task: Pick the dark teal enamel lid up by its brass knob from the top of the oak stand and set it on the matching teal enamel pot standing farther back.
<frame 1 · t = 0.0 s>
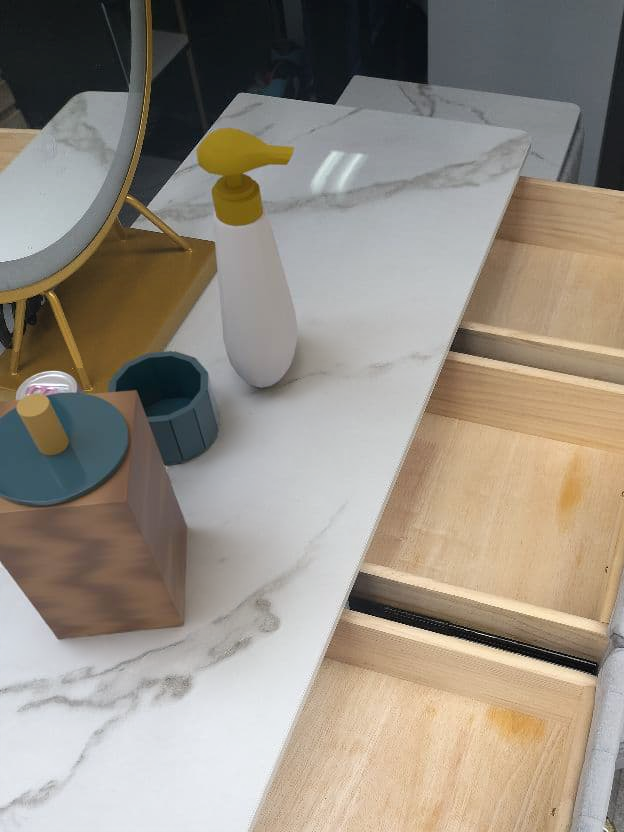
beverage can: (96, 491, 89), on the table
lid: (56, 449, 66), point 20 cm above the table, touching stand
stand: (125, 580, 82), on the table
pot: (173, 429, 94), on the table
soap bottle: (275, 367, 100), on the table
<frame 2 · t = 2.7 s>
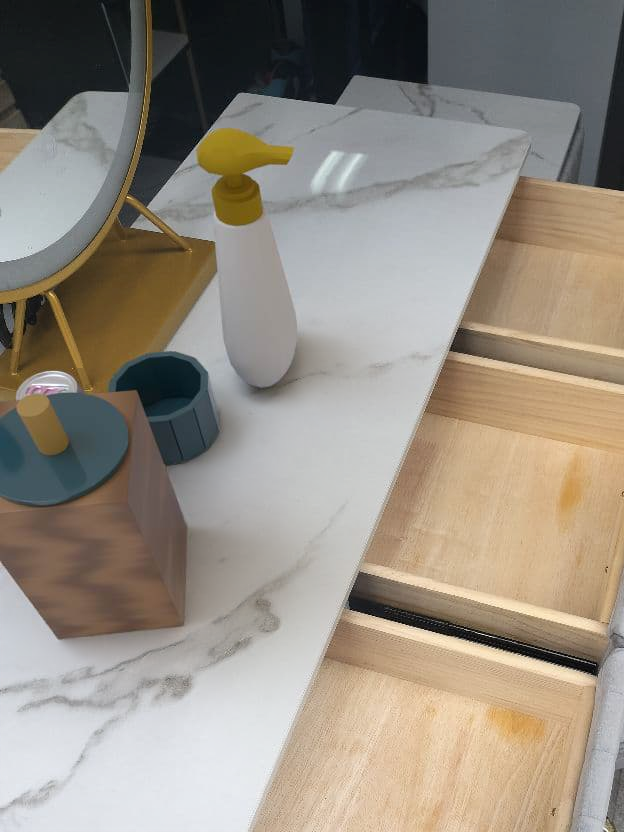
nothing on the table moved.
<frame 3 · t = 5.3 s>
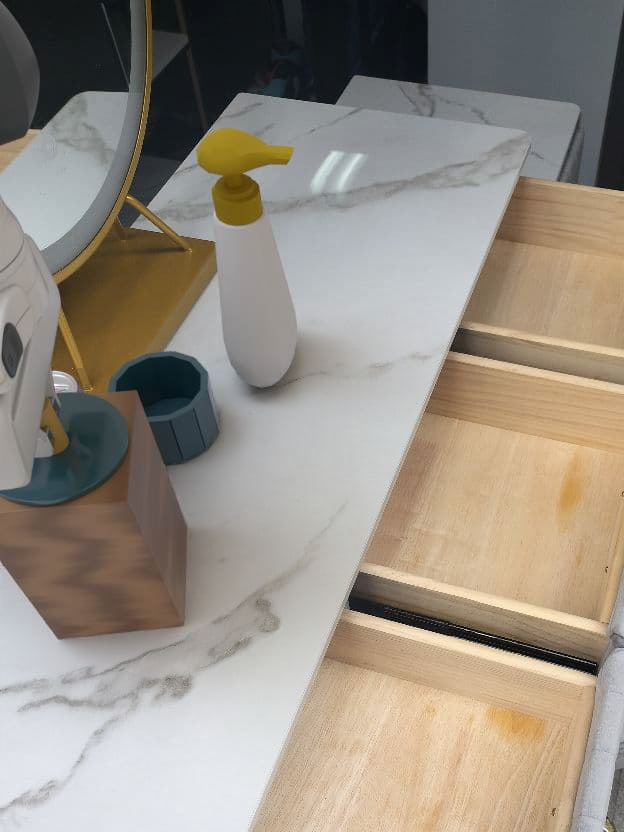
hand: (47, 432, 64), 22 cm above the table, tool pointing down, fingers closed on lid, 2 cm apart
lid: (56, 449, 66), point 20 cm above the table, touching gripper, stand
everything else where it was.
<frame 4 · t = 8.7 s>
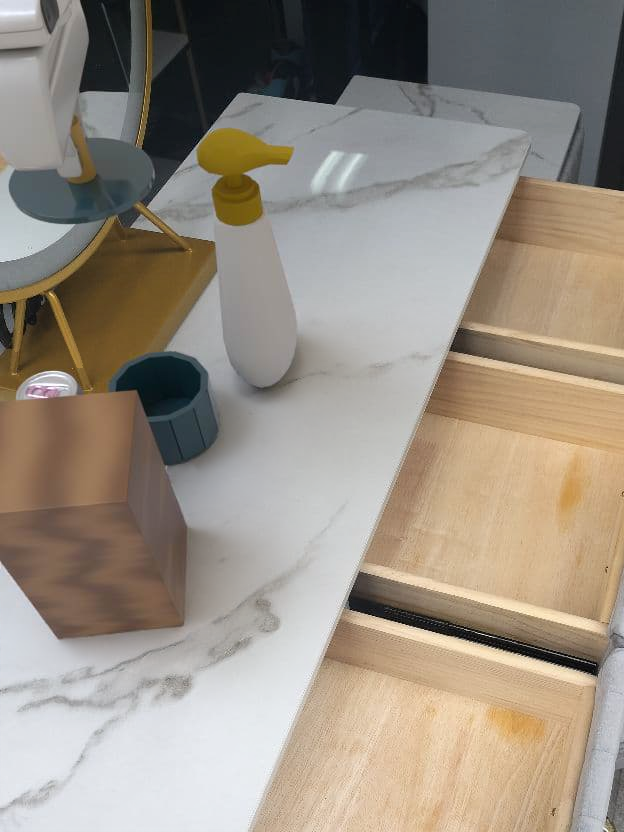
hand: (75, 159, 66), 33 cm above the table, tool pointing down, fingers closed on lid, 2 cm apart
lid: (83, 182, 67), point 31 cm above the table, touching gripper
everything else where it was.
when the fingers open (9 cm above the table, at t = 12.4 s): lid stays where it is, resting on pot.
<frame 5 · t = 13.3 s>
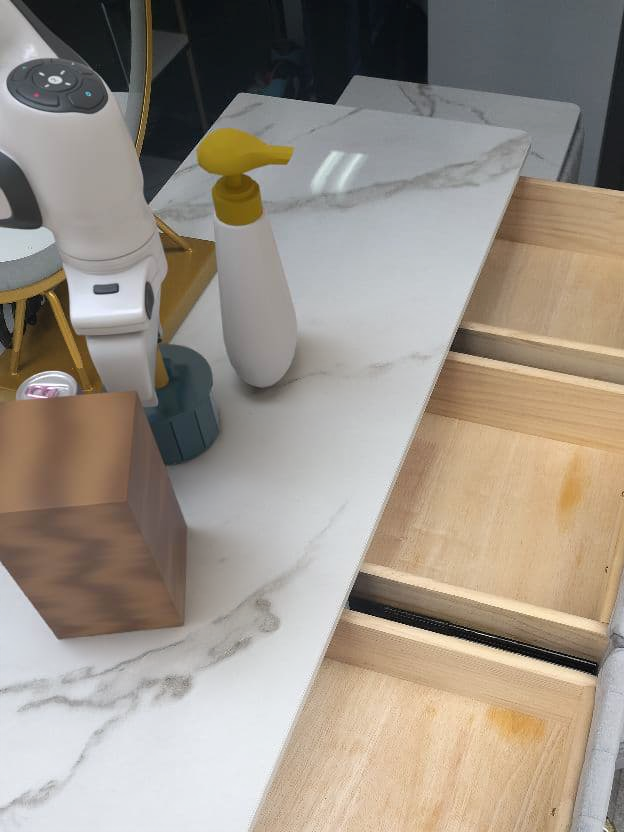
hand: (152, 369, 86), 9 cm above the table, tool pointing down, fingers open, 8 cm apart
lid: (158, 385, 88), point 7 cm above the table, touching pot
everything else where it was.
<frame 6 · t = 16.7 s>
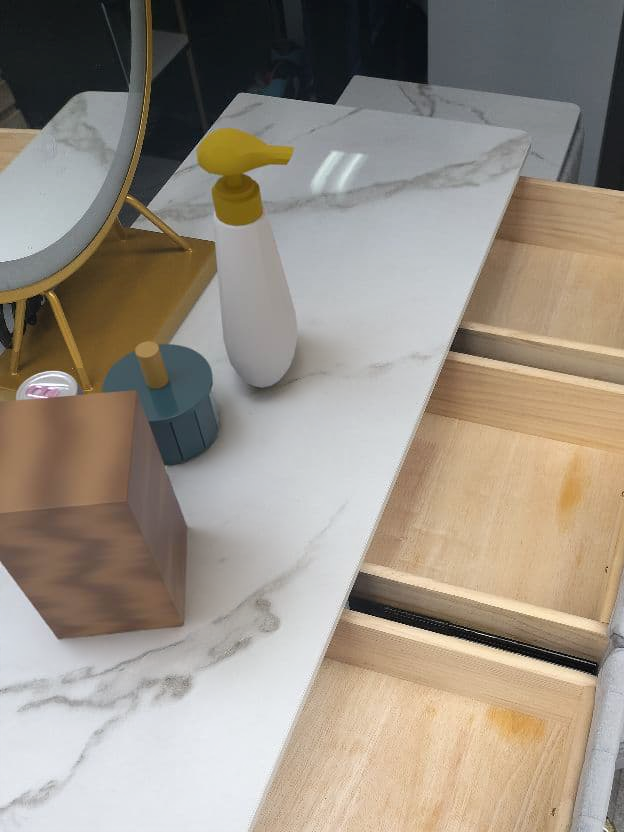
nothing on the table moved.
at the end: lid 0.1 cm off-centre on the pot, point 7.0 cm above the pot's base; lid tilted 0° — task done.
